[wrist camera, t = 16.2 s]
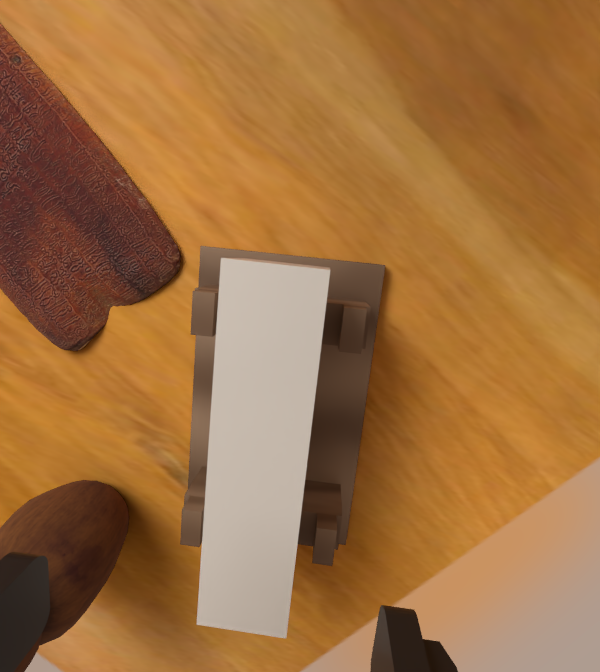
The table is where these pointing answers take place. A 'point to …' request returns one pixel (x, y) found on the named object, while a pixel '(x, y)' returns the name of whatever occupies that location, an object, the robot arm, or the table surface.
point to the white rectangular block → (259, 440)
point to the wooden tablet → (68, 213)
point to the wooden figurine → (69, 547)
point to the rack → (330, 399)
